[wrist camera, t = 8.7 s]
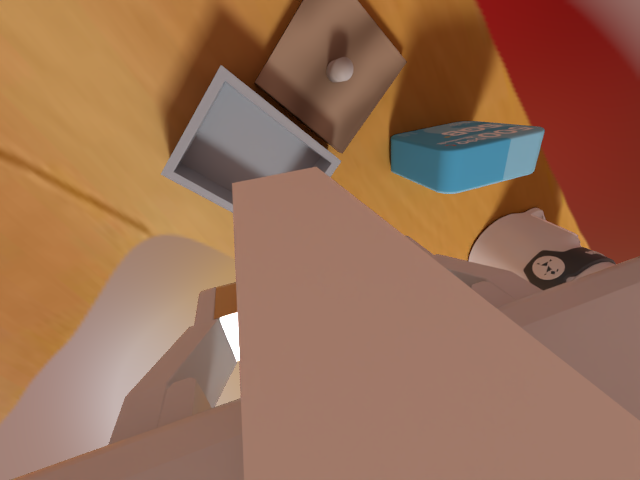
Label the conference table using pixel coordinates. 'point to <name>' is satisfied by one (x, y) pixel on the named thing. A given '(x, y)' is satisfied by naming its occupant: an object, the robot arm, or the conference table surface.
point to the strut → (394, 358)
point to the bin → (239, 143)
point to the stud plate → (311, 60)
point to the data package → (465, 154)
